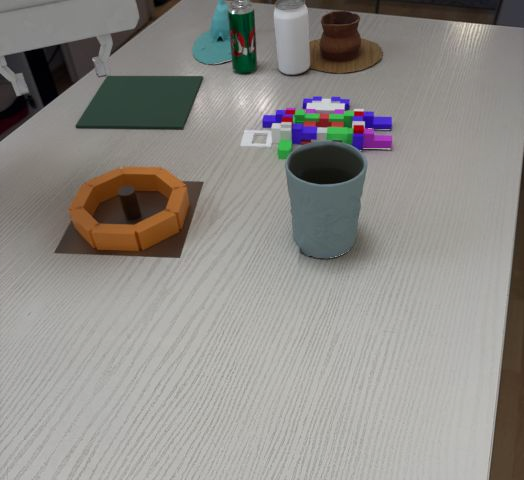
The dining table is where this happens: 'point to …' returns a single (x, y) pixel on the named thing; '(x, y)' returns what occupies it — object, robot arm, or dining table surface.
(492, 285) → the dining table surface
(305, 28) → the can
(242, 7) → the soda can
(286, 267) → the dining table surface
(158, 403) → the dining table surface
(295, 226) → the grey blue cup
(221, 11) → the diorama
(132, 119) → the mat
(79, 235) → the ring toss
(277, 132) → the building block set
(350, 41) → the ceramic pot
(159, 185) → the ring
